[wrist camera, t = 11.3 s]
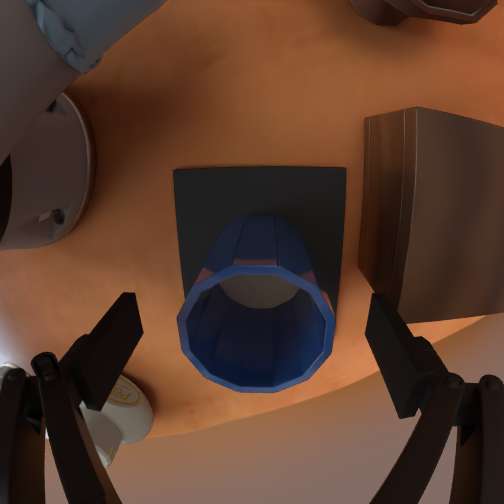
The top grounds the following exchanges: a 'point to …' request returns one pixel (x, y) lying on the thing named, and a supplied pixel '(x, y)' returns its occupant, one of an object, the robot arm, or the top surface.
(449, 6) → the ice cream bowl
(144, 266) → the top surface
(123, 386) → the air freshener
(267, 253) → the cup
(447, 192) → the shelf
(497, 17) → the top surface
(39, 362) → the robot arm
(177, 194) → the mat
